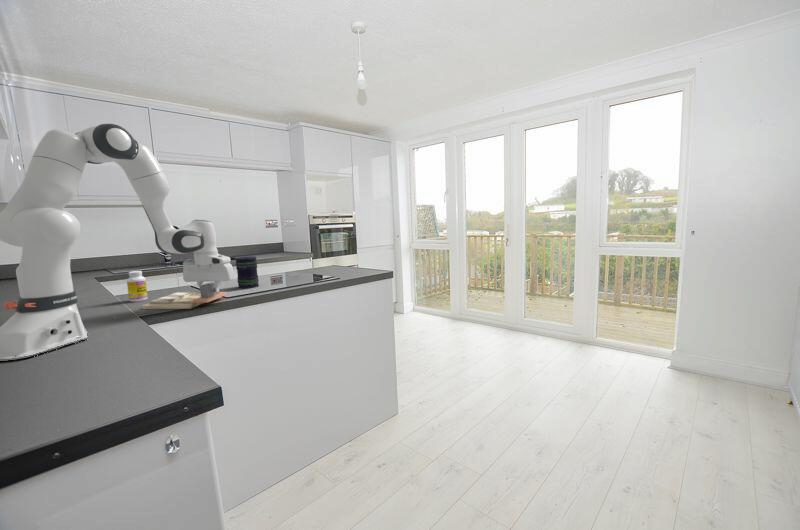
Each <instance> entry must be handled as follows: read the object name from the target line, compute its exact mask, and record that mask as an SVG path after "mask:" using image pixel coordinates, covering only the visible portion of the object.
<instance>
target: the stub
mask: <svg viewBox="0 0 800 530" xmlns="http://www.w3.org/2000/svg"><path fill="white" fill-rule="evenodd" d="M215 287H216V284H215V281H213V282H207V283H205V284H203V285H202V286H200V287H199V290H200V294H201V297H199V298H197V299H194V300H193V303H203V304H206V303H207V304H208V303H211V302H212V301H215V300H218V299H221V298H222V297H224V296H227V295H228V294H227V293H228V292H227V291H219V292H214V290H213V288H215Z"/></svg>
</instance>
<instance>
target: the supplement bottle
mask: <svg viewBox="0 0 800 530" xmlns="http://www.w3.org/2000/svg"><path fill="white" fill-rule="evenodd" d="M128 276H129V277H128V278H127V279H126V286H127V292H128V293H127V294H128V301H129V302H132V303H134V302H135V303H136V302H142V301H143V302H144V301H146V300H148V289H147V280H146V277H144V276H143V271H142V270H134V271H128Z"/></svg>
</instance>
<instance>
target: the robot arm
mask: <svg viewBox="0 0 800 530" xmlns="http://www.w3.org/2000/svg"><path fill="white" fill-rule="evenodd" d="M113 162H114V163H116V165H118V166H119V167H121V169H122V170H123V171H124V173H125V175H126V177H127V179H128V181H129V183H130V184H131V186H132V188H133V190H134V192H135V193H136V195H137V197H138V199H139V201H140V203H141V204H142V208H143V210H144V212H145V214H146V217H147V219H148V221H149V223H150V225H151V227H152V229H153V231H154V242H155V245H156V247H157V249H158V250H159V251H161V252H162V253H164V254H166V255H173V254H180V255H181V254H182V255H184V254H190V253H193V259H185V260H184V261H183V262H182V279H183V281H184V282H186V283H196V285H197V286H198V287H199V288H200V286H202V285H204V283H205V282H206V283H211V282H215V284H216V287H215V288H213V290H214V292H220V287H221V284H222V282H231V281H233V280H234V278H235V274H234V269H233V267H234V266H233V265H232V264H231V257H230V256H226V255H223V254H220V253H219V250H218V248H217V242H218V239H217V233H216V229H215V225H214V223H212V221H209V220H204V219H193V220H191V222H189V223H188V224H186V225H184V226H183V227H180V228H177V229H176V228H175V227H174V226H173V224H172V223H171V221H170V218H169V215H168V214H167V212H166V208H165V204H164V203H165V199H166V197H167V196H168V195H169V193H170V189H171V187H170V183H169V181H168V178H167V175H166V173H165V172H164V169H163V167H162V166H161V164H160V162H159V161H158V160H157V158H156V157H155V155H154V154H153V153H152V151H151V150H150V149H149V147H147V146H146V145H145V144H143V143H139V142H138V141H137V140H136V139H135V138H134V137H133V135H132V134H131V133H130V132H129V131H128V130H127V129H125V128H124V127H122V126H120V125H118V124H114V123H101V124H98V125H94V126H90V127H87V128H85V129H83V130H81V131H79V132H76V133H73V132H70V131H69V130H65V129H51V130H49V131H47V132H46V133H45V134H44V135H43V137H42V138H41V139H40V141H39V143H38V144H37V146H36V147H35V150H34V152H33V155H32V156H31V159H30V162H29V165H28V167H27V170H26V173H25V175H24V177H23V180H22V181H21V184H20V186H19V187H18V189H17V190H16V192H14V194H13V196H12V197H11V199H10V200H9V201H8V203H7V204H6V206H5V207H4V208H3V210H2V211H1V212H0V241H1V242H3V243H5V244H8V245H10V246H14V247H19V248H22V250H21V257H20V263H19V265H18V266H17V267H16V269H15V274H16V280H17V284H18V285H17V286H18V292H19V296H20V297H19V298H18V300H17V302H16V301H6V302H4V304H3V306H2V307H3V308H4V309H5V310H15V313H14V314H13V315H12V316H10V318H8V320H6V321H5V322H4V323H3V324H2V325H1V326H0V359H12V358H19V357H24V356H29V355H33V354H36V353H39V352H43V351H46V350H48V349H51V348H55V347H57V346H61V345H64V344H67V343H70V342H74V341H77V340H80V339H84V338H87V337H88V336H87V333H88V334H89V332H88V331H87V329H86V328H85V325H84V322H83V320H82V317H81V314H80V312H79V309H78V305H77V304H78V296H77V292H76V290H74V284H73V278H72V271H71V260H72V252H73V248H74V244H75V241H76V240H77V239H78V238H79V237H80V234H81V230H82V227H81V223H80V221H79V220H78V218H77V217H76V216H75V215H73V214H72V213H70V212H69V211H65V210H63V209H64V208H65V207H66V206H67V205H68V204H69V203H70V202H71V201H73V200H74V198H75V197H76V194H77V191H78V189H79V185H80V182H81V179H82V176H83V173H84V171H85V166H86V164H92V165H93V164H94V165H101V164H106V163H113ZM15 356H16V357H15Z"/></svg>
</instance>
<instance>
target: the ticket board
mask: <svg viewBox="0 0 800 530" xmlns="http://www.w3.org/2000/svg"><path fill="white" fill-rule="evenodd" d="M199 297H201V293H195V291H183V292H182V291H181V292H178V291H177V292H173V293H171V294H168V295H165V296H162V297H158V298H156V299H152V300H150V301H149V303H145V304H143V305H141V308H142V310H163V309H164V310H171V309H172V310H173V309H174V310H175V309H177V310H179V309H193V308H195V307H198V306H200V305H202V304H204V303H193V300H194V299H197V298H199Z"/></svg>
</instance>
